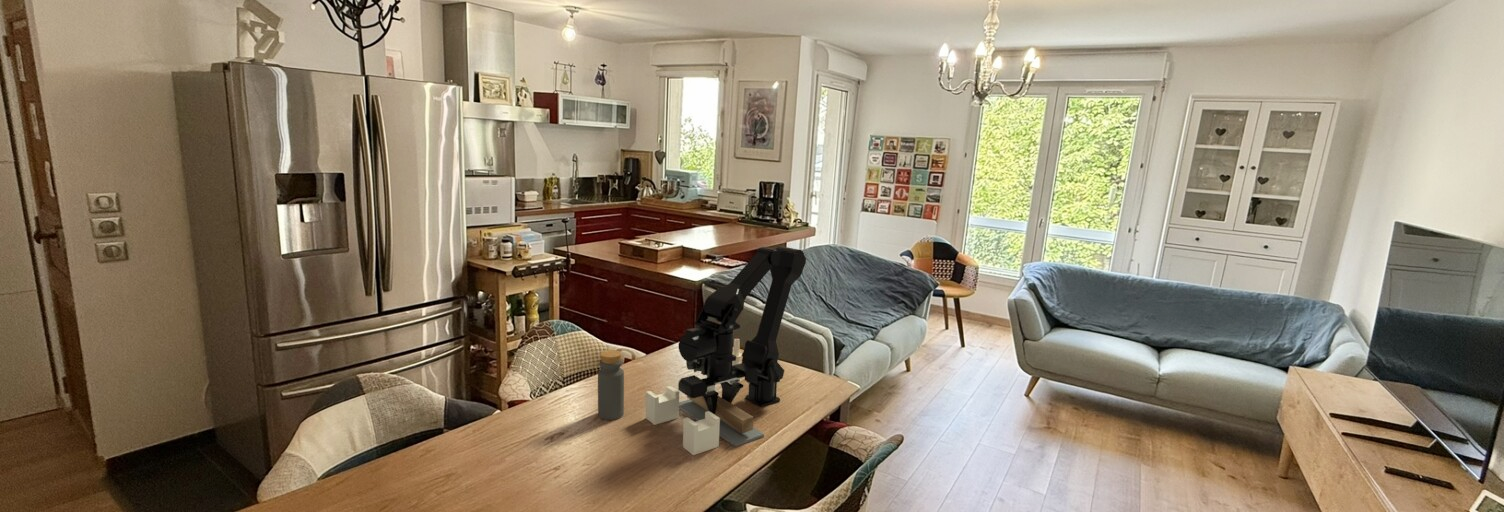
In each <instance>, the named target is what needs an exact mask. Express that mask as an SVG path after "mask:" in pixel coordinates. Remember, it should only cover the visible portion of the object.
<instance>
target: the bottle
mask: <svg viewBox="0 0 1504 512" xmlns="http://www.w3.org/2000/svg"><path fill="white" fill-rule="evenodd" d="M621 357H622V352H621V351H620V350H616V349H615V350H614V349H609V350H605V351H602V352H600V360H599V367H600V369H599V370H598V372H597V416H598V417H599V418H600V419H602V420H604V421H615V420H618V419H621V418H622V417H624V413H625V371H624V369H623V368H621V367H622V366H623V359H622V358H621Z"/></svg>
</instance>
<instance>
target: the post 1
mask: <svg viewBox="0 0 1504 512" xmlns="http://www.w3.org/2000/svg"><path fill="white" fill-rule="evenodd" d="M679 402H680V391H679V390H678V389H676V388H675V387H673V386H672V385H668V386H666V392H664V393H660V394H656V393H653V391H651V390H648V391H645V419H647V420H648V422H650V423H652V425H654V426H656V425H659V424H663V423H666V422H670V421H672V420H676V419H679V418H680V408H679Z"/></svg>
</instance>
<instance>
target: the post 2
mask: <svg viewBox="0 0 1504 512" xmlns="http://www.w3.org/2000/svg"><path fill="white" fill-rule="evenodd" d="M719 427H720V418H719V417H717V416H716V415H714V414H713V413H711V412H710V411H707V412H705V419H702V420H699V421H697V420H695V421H694V420H693V419H691V418H689V416H688V417H684V418H683V427H682V428H683V431H682V435H683V436H682V448H684V449H685V450H686V451H688V452H689V454H691V455H692V456H695V455H698V454H701V453H704V452H707V451H710V450H713V449H717V448H719V447H720V446H719V445H720V436H719Z"/></svg>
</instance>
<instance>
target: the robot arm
mask: <svg viewBox="0 0 1504 512" xmlns="http://www.w3.org/2000/svg"><path fill="white" fill-rule="evenodd" d="M806 263H807V258H806V256H805V253H804V251H803V250H802V249H798V248H792V247H787V246H781V245H779V246H777V247H776V248H771V247H766V246H762V247H759V248H757V250H756V251H755V254H754V256H752V258H751V259H750V260H749V261H748V263H746V264H745V265H744V267H743V268H742V269H741V270H740V271H739V272H738V273H737V274H736V275H735V277H734V278H733V279H732V280H731V281H730V282H729V283H728V284H727V285H724V286H722V287H719V288H717V289H716V290H715V291H713V292H712V293H710V295H709V296H707V298H706V299H705V301H704V304H703V306H702V308H701V309H700V311H699V313H698V315H697V318H696V320H694V326H696V327H693V328H687V329H685V335H682V336H681V338H680V340H679V342H678V352H679V354H680V356H681V357H682V359H683V360H685V362H686V369H687V370H688V371H689V370H690V371H692V370H693V373H696V372H700V375H702V376H706V377H705V378H699V377H698V376H697V375H695V374H694V375H688V376H685V377H681V378H680V380H679V381H678V383H677V385H678V386H677V387H678V388H677V390H678V391H679V392H681V393H682V394H684V395H685V396H686V397H687V396H688V397H690V398H697V397H700V396H703V397H704V399H705V402H706V405H707V408H708V411H710V412H711V413H713V414H714V415H715V411H716V406H717V400H718V396H719V392H718V391H716V390H715V389H716V385H719V384H720V386H721V387H720V388H721V398H723V399H725V400H726V401H728V402H729V403H731V404H733V401H734V399H735V398H736V396H737V395H738V393H739V392H740V391H741V389H742V388H743V389H744V384H742V383H741V378H744V381H746V383H747V384H748V394H745V399H747V400H748V401H750V402H751V403H753V404H756V405H757V406H759V407H764V406H768V405H770V404H774V403H777V402H780V401H781V398H780V397H779V396H777V387H778V383H780V382H781V380H782V379H783V378H784V374H785V369H784V368H783V366H782V365H781V364H780V363H779V362H778V361H779V355H780V353H779V349H778V345H777V340H778V339H777V338H778V334H779V332H780V328H781V324H782V320H783V316H784V314H785V309H786V306H787V303H788V299H789V295H790V291H791V288H792V286H793V284H794V283H796V281H797V280H799V278H800V277H801V276H802V273H803V271H804V268H805V266H806ZM769 271H770V272H769ZM768 273H770V275H771V283H770V286H769V290H768V293H767V297H766V301H765V304H764V309H763V311H762V315H761V319H760V320H759V322H760V323H759V326H758V328H757V333H756V335H755V336H754V337H753V338H752V339H751V340H746V341H745V343H744V347H743V348H744V349H743V352H741V353H742V356H741V357H742V358H741V362H740V363H741V364H737V365H733V366H732V361H736V356H735V355H733V349H734V331H735V330H738V329H740V328H741V325H740V324H739V323H738V322H737V321H736V320H737V319H738V318H739V316H740V315H741V314H742V311H743V310H744V309H745V308H744V307H745V300H746V299H747V297H748V296H749V295H750V293H751V292H752V291H753V290H754V288H756V286H757V285H758V284H759V283H760V282H761V281H762V279H763V278H764V277H765V276H766V274H768ZM708 319H709V320H708ZM714 321H715V322H714ZM717 322H718V323H717Z"/></svg>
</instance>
